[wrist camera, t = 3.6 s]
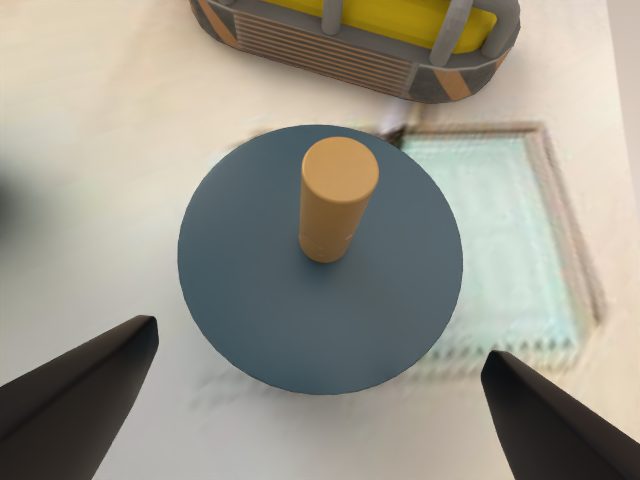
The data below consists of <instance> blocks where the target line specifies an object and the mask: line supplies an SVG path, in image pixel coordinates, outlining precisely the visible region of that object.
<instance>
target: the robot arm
mask: <svg viewBox="0 0 640 480" xmlns="http://www.w3.org/2000/svg"><path fill="white" fill-rule="evenodd" d="M158 345H159V336H158V327H157V320H156V318H155V317H154V316H147V315H138V316H136V317H134V318H132V319H130V320H128V321H126V322H124V323H122V324H120V325H118V326H116V327H114V328H113V329H111V330H109V331H107V332H105V333H103V334H101V335H99V336H97V337H95V338H93V339H91V340H89V341H88V342H86V343H84V344H82V345H80V346H78V347H76V348H74V349H72V350H70V351H68V352H66V353H65V354H63V355H61V356H59V357H57V358H55V359H53V360H51V361H49V362H47V363H45V364H43V365H41V366H40V367H38V368H36V369H34V370H32V371H30V372H28V373H26V374H24V375H22V376H20V377H18V378H16V379H15V380H13V381H11V382H9V383H7V384H5V385H3V386H1V387H0V480H92V478H93V476H94V474H95V473H96V471H97V469H98V467H99V465H100V464H101V462H102V460H103V458H104V457H105V455H106V453H107V451H108V449H109V448H110V446H111V444H112V442H113V441H114V439H115V437H116V435H117V433H118V432H119V430H120V428H121V426H122V425H123V423H124V421H125V419H126V417H127V416H128V414H129V412H130V410H131V408H132V406H133V404H134V402H135V400H136V398H137V396H138V393H139V391H140V389H141V386H142V384H143V382H144V380H145V377H146V375H147V373H148V370H149V368H150V366H151V363H152V361H153V359H154V356H155V354H156V352H157V349H158ZM481 382H482V386H483V389H484V392H485V396H486V399H487V402H488V406H489V409H490V412H491V416H492V419H493V422H494V426H495V429H496V432H497V435H498V438H499V441H500V443H501V446H502V448H503V451H504V453H505V456H506V458H507V461H508V463H509V466H510V468H511V470H512V473H513V475H514V478H515V480H640V444H639V443H638V442H636V441H635V440H633V439H632V438H630V437H629V436H628V435H626V434H625V433H623V432H622V431H620V430H619V429H618V428H616V427H615V426H613V425H612V424H610V423H609V422H608V421H606V420H605V419H603V418H602V417H600V416H599V415H598V414H596V413H595V412H593V411H592V410H590V409H589V408H588V407H586V406H585V405H583V404H582V403H580V402H579V401H578V400H576V399H575V398H573V397H572V396H570V395H569V394H568V393H566V392H565V391H563V390H562V389H560V388H559V387H558V386H556V385H555V384H553V383H552V382H550V381H549V380H548V379H546V378H545V377H543V376H542V375H540V374H539V373H538V372H536V371H535V370H533V369H532V368H530V367H529V366H528V365H526V364H525V363H523V362H522V361H520V360H519V359H518V358H516V357H515V356H513V355H512V354H510V353H509V352H506V351H497V350H493V351H491V352H490V353H489V355H488V357H487V360H486V362H485V364H484V367H483V369H482V372H481Z"/></svg>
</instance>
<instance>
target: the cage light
mask: <svg viewBox="0 0 640 480" xmlns="http://www.w3.org/2000/svg"><path fill="white" fill-rule="evenodd" d="M189 1H190V5H191V8H192V11H193V13H194V15H195V17H196V18H197V20H198V22H199V24H200V26H201V27H202V28H203V29H205V30H206V31H207V32H208V33H209V34H210V35H212V36H213V37H214V38H215V39H216V40H218V41H220V42H222V43H225V44H227V45H229V46H232V47H234V48H236V49H238V50H241V51H245V52H248V53H251V54H255V55H258V56H261V57H265V58H268V59H272V60H275V61H278V62H282V63H285V64H288V65H292V66H295V67H299V68H302V69H305V70H309V71H312V72H315V73H319V74H322V75H326V76H329V77H332V78H336V79H339V80H342V81H346V82H349V83H353V84H356V85H359V86H363V87H366V88H369V89H373V90H376V91H380V92H383V93H386V94H390V95H393V96H396V97H400V98H403V99H408V100H413V101H419V102H425V103H443V102H455V101H458V100H460V99H463V98H465V97H468V96H470V95H473V94H475V93H477V92H478V91H479V90H480V89H481V88H482V87H483V86H484V85H485V84H486V83H487V82H488V81H490V79H491V78H492V76H493V75H494V73H495V72H496V70H497V69H498V67H499V66H500V64H501V63H502V61H503V60H504V58H505V57H506V56H507V54H508V53H509V51H510V50H511V48H512V47H513V45H514V43H515V41H516V38H517V35H518V33H519V30H520V28H521V27H520V18H519V16H520V7H519V3H518V0H189Z"/></svg>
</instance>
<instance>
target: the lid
mask: <svg viewBox="0 0 640 480" xmlns="http://www.w3.org/2000/svg"><path fill="white" fill-rule="evenodd" d="M177 263H178V271H179V279H180V284H181V288H182V291H183V295H184V299H185V301H186V304H187V306H188V308H189V311H190V313H191V315H192V317H193V319H194V321H195V322H196V324H197V325H198V327H199V329H200V330H201V332H202V333H203V335H204V336H205V337H206V339H207V340H208V341H209V342H210V343H211V344H212V346H213V347H214V348H215V349H216V350H217V351H218V352H219V353H220V354H221V355H222V356H223V357H224V358H226V359H227V360H228V361H229V362H230V363H231V364H232V365H234V366H235V367H237V368H239V369H240V370H242V371H243V372H245V373H246V374H248V375H249V376H251V377H253V378H255V379H257V380H259V381H262V382H264V383H266V384H268V385H270V386H274V387H277V388H280V389H284V390H287V391H290V392H296V393H303V394H310V395H338V394H345V393H352V392H358V391H361V390H364V389H368V388H371V387H374V386H377V385H379V384H381V383H384V382H386V381H388V380H390V379H392V378H394V377H396V376H398V375H399V374H401V373H402V372H404V371H405V370H407V369H408V368H410V367H411V366H413V365H414V364H415V363H416V362H417V361H418V360H419V359H420V358H422V357H423V356H424V355H425V354H426V353H427V352H428V351H429V350H430V348H431V347H432V346H433V345H434V344H435V342H436V341H437V340H438V339H439V337H440V336H441V334H442V332H443V331H444V329H445V328H446V326H447V324H448V323H449V321H450V318H451V316H452V314H453V311H454V309H455V306H456V304H457V300H458V296H459V292H460V288H461V281H462V272H463V253H462V246H461V239H460V234H459V231H458V227H457V224H456V220H455V218H454V215H453V213H452V211H451V208H450V206H449V204H448V202H447V200H446V199H445V197H444V195H443V194H442V192H441V190H440V189H439V187H438V186H437V185H436V183H435V182H434V181H433V180H432V178H431V177H430V176H429V175H428V174H427V173H426V172H425V171H424V170H423V168H422V167H421V166H420V165H419V164H417V163H416V162H415V161H414V160H413V159H411V158H410V157H409V156H408V155H407V154H405V153H404V152H402V151H401V150H399V149H398V148H396V147H395V146H393V145H391V144H389V143H387V142H385V141H383V140H381V139H380V138H377V137H375V136H372V135H370V134H367V133H364V132H361V131H357V130H354V129H350V128H345V127H339V126H333V125H300V126H294V127H288V128H283V129H279V130H275V131H272V132H268V133H266V134H263V135H261V136H258V137H256V138H254V139H252V140H250V141H248V142H246V143H244V144H243V145H241V146H239V147H238V148H236V149H235V150H233V151H232V152H231V153H229V154H228V155H226V156H225V157H224V158H223V159H222V160H221V161H220V162H219V163H217V164H216V165H215V166H214V167H213V168H212V170H211V171H210V172H209V173H208V174H207V175H206V177H205V178H204V179H203V180H202V182H201V183H200V185H199V186H198V188H197V189H196V191H195V193H194V194H193V196H192V198H191V200H190V203H189V205H188V207H187V209H186V212H185V215H184V218H183V221H182V224H181V229H180V235H179V240H178V260H177Z"/></svg>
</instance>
